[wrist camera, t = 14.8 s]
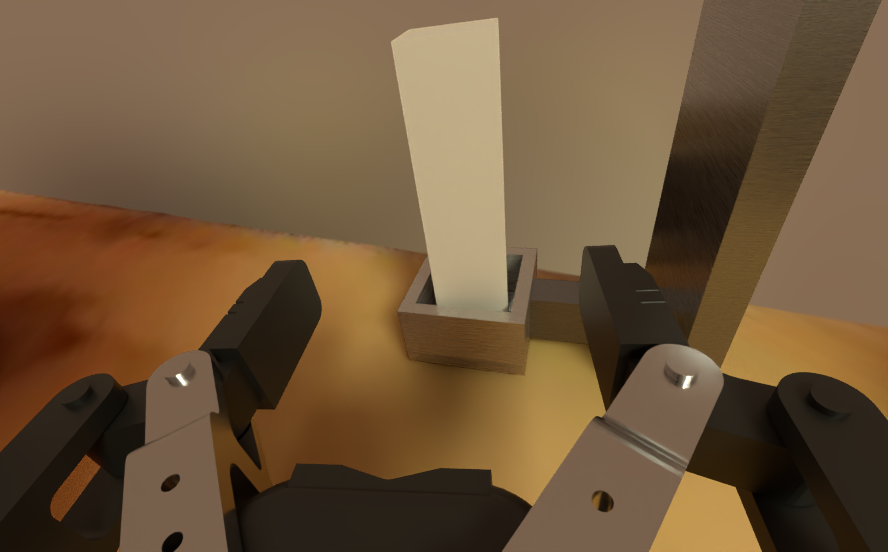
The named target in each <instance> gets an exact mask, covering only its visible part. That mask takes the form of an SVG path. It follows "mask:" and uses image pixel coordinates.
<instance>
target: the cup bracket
mask: <svg viewBox="0 0 888 552" xmlns="http://www.w3.org/2000/svg"><path fill="white" fill-rule="evenodd" d="M881 1H882V0H704V3H703V7H702V11H701V16H700V21H699V25H698V30H697V35H696V39H695V43H694V48H693V52H692V57H691V62H690V66H689V71H688V75H687V80H686V84H685V89H684V94H683V98H682V102H681V107H680V111H679V117H678V121H677V125H676V130H675V134H674V139H673V143H672V148H671V152H670V157H669V161H668V166H667V171H666V175H665V180H664V184H663V189H662V193H661V198H660V202H659V207H658V212H657V216H656V221H655V225H654V230H653V234H652V239H651V244H650V248H649V252H648V257H647V261H646V266H645V270H646V271H648V272H649V273H650V274H651V275H652V276H653V278H654V280H655V282H656V284H657V286H658V288H659V291H660V292H661V293H662V295H663V297H664V299H665V303H667V305H668V307H669V309H670V310H671V312H672V314H673V316H674V318H675V320H676V322H677V324H678V325H679V327H680V329H681V331H682V333H683V335H684V337H685V339H686V341H687V342H688V344H689V346H690V348H693V349H695V350H697V351H700V352H701V353H703V354H705V355H706V356H708V357H709V358H710V359H712V360H713V361H714V362H715V363H716V365H717V366H718V367H719V368H721V365H722V363H723V361H724V358H725V356H726V354H727V352H728V349H729V347H730V345H731V343H732V340H733V338H734V336H735V333H736V331H737V329H738V327H739V324H740V322H741V320H742V317H743V315H744V313H745V311H746V308H747V306H748V304H749V302H750V299H751V297H752V295H753V292H754V290H755V288H756V286H757V283H758V281H759V279H760V276H761V274H762V272H763V270H764V267H765V265H766V263H767V260H768V258H769V256H770V254H771V251H772V249H773V247H774V244H775V242H776V240H777V238H778V235H779V233H780V231H781V228H782V226H783V224H784V222H785V219H786V217H787V215H788V213H789V210H790V208H791V206H792V203H793V201H794V199H795V196H796V194H797V192H798V190H799V188H800V185H801V183H802V180H803V178H804V176H805V174H806V172H807V169H808V167H809V165H810V162H811V160H812V158H813V155H814V153H815V151H816V149H817V146H818V144H819V142H820V140H821V137H822V135H823V133H824V131H825V128H826V126H827V123H828V121H829V119H830V117H831V114H832V112H833V110H834V108H835V105H836V103H837V101H838V98H839V96H840V94H841V92H842V89H843V87H844V85H845V83H846V80H847V78H848V76H849V74H850V71H851V69H852V67H853V64H854V62H855V60H856V58H857V55H858V53H859V51H860V48H861V46H862V44H863V42H864V39H865V37H866V35H867V32H868V30H869V28H870V25H871V23H872V21H873V19H874V17H875V14H876V12H877V10H878V7H879V5H880V3H881ZM506 262H507V291H508V312H502V311H492V310H481V309H471V308H460V307H449V306H439V305H437V303H436V298H435V292H434V286H433V280H432V275H431V269H430V263H429V257H428V255H427V257H426V258H425V260H424V262H423V264H422V266H421V268H420V270H419V272H418V273H417V275H416V277H415V279H414V281H413V283H412V285H411V286H410V288H409V290H408V292H407V294H406V296H405V298H404V300H403V301H402V303H401V305H400V307H399V309H398V311H397V313H398V317H399V321H400V324H401V328H402V332H403V336H404V340H405V344H406V348H407V352H408V356H409V360H415V361H423V362H430V363H437V364H444V365H452V366H459V367H466V368H473V369H481V370H488V371H495V372H502V373H510V374H517V375H524V376H525V369H526V363H527V356H528V349H529V342H530V338H537V339H546V340H555V341H564V342H573V343H582V344H588V341H587V337H586V333H585V329H584V325H583V321H582V318H581V314H580V308H579V286H580V282H578V281H563V280H549V279H537V249H536V248H515V247H506Z"/></svg>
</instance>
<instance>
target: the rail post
mask: <svg viewBox="0 0 888 552" xmlns="http://www.w3.org/2000/svg"><path fill="white" fill-rule="evenodd" d="M391 45H392V50H393V56H394V62H395V68H396V74H397V79H398V85H399V90H400V97H401V102H402V108H403V114H404V119H405V125H406V131H407V137H408V143H409V148H410V154H411V160H412V165H413V171H414V177H415V183H416V189H417V194H418V200H419V205H420V211H421V217H422V223H423V228H424V234H425V239H426V246H427V252H428V257H429V263H430V269H431V275H432V280H433V286H434V292H435V298H436V303H437V305H439V306H449V307H460V308H471V309H481V310H492V311H502V312H508V291H507V262H506V235H505V204H504V176H503V175H504V174H503V147H502V116H501V88H500V56H499V29H498V18H492V19H484V20H476V21H469V22H461V23H454V24H446V25H439V26H431V27H424V28H417V29H409V30H408V31H406V32H405V33H403V34H402V35H400V36H399V37H397V38H396V39H394V40H393V41H391Z"/></svg>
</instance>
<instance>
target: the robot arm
mask: <svg viewBox="0 0 888 552" xmlns="http://www.w3.org/2000/svg"><path fill="white" fill-rule="evenodd" d="M579 308H580V314H581V318H582V321H583V325H584V329H585V333H586V337H587V341H588V345H589V348H590V352H591V356H592V360H593V364H594V368H595V371H596V375H597V379H598V383H599V387H600V391H601V395H602V398H603V402H604V406H605V410H606V413H605V415H604V416H603V417H602V418H600V417H599V416H596V417H595V418H593V420H592V421H591V422H590V423H589V424H588V426H587V427H586V429H585V430H584V431H583V433H582V434H581V436H580V437H579V439H578V440H577V442H576V443H575V445H574V446H573V448H572V449H571V451H570V452H569V454H568V455H567V457H566V458H565V459H564V461H563V462H562V464H561V465H560V467H559V468H558V470H557V471H556V473H555V474H554V476H553V477H552V479H551V480H550V482H549V483H548V484H547V486H546V487H545V489H544V490H543V492H542V493H541V495H540V496H539V498H538V499H537V501H536V502H535V504H534V505H533V506H531V505H530V504H529V503H528V502H526V501H525V500H523V499H522V498H520V497H518V496H517V495H515V494H513V493H511V492H509V491H507V490H505V489H502V488H499V487H496V486H493V485H492V475H491V470H481V469H450V468H439V469H435V470H430V471H426V472H422V473H417V474H413V475H409V476H404V477H400V478H395V479H390V480H387V479H382V478H379V477H376V476H373V475H370V474H367V473H364V472H361V471H358V470H355V469H352V468H349V467H346V466H343V465H326V464H296V466H295V469H294V471H293V474H292V476H291V479H290V480H288V481H285V482H282V483H279V484H276V485H274V486H273V484H272V482H271V479H270V476H269V472H268V468H267V464H266V460H265V456H264V452H263V448H262V444H261V440H260V437H259V433H258V429H257V425H256V422H255V421H254V419H253V418H252V417H253V415H254V413H255V412H256V410H257V409H275V408H276V406H277V404H278V402H279V400H280V398H281V396H282V394H283V392H284V390H285V388H286V386H287V384H288V382H289V380H290V378H291V376H292V374H293V372H294V370H295V368H296V366H297V364H298V362H299V360H300V358H301V356H302V354H303V352H304V350H305V348H306V346H307V344H308V342H309V340H310V338H311V336H312V334H313V332H314V330H315V328H316V326H317V324H318V322H319V320H320V317H321V311H322V306H321V300H320V297H319V295H318V292H317V290H316V287H315V285H314V282H313V280H312V277H311V275H310V272H309V270H308V267H307V265H306V263H305V262H304V261H303V260H285V261H275V262H274V263H273V264H272V265H271V267H270V268H269V269H268V271H267V272H266V273H265V275H264V276H263V277H262V278H260V279H258V280H257V281H256V282H254V283H253V284H252V285H250V286H249V287H248V288H246V289H245V290H244V292H243V293H242V294H241V296H240V297H239V298H238V299H237V301H236V304H233V306H232V307H231V308H230V310H229V311H228V315H225V316H224V317H223V319H222V320H221V321H220V322H219V324H218V325H217V326H216V328H215V329H214V330H213V331H212V333H211V334H210V335H209V337H208V338H207V339H206V340H205V342H204V343H203V344H202V346H201V347H200V348H199V349H198V350H193V351H188V352H184V353H182V354H179V355H177V356H175V357H173V358H171V359H169V360H167V361H166V362H165V363H163V364H162V365H161V366H160V367H158V368H157V369H156V370H155V371H154V373H153V374H152V375H151V376H150V378H149V380H145V381H142V382H138V383H134V384H130V385H126V386H121V385H120V384H119V383H118V382H117V381H116V380H115V379H114V378H113V377H112V376H111V375H109V374H95V375H91V376H88V377H85V378H83V379H80V380H78V381H76V382H74V383H73V384H71V385H69V386H68V387H66V388H65V389H63V390H62V391H61V392H59V393H58V394H57V395H56V396H55V397H54V398H53V399H52V400H51V401H50V402H49V403H48V404H47V405H46V406H45V407H44V408H43V409H42V410H41V411H40V412H39V413H38V414H37V415H36V416H35V417H34V418H33V419H32V420H31V421H30V422H29V423H28V424H27V425H26V426H25V427H24V428H23V429H22V430H21V431H20V432H19V434H18V435H17V436H16V437H15V438H14V439H13V440H12V441H11V442H10V443H9V444H8V445H7V446H6V447H5V448H4V449H3V450H2V451H1V452H0V552H116V551H117V550H118V548H119V546H120V549H119V552H649V550H650V548H651V546H652V543H653V541H654V539H655V537H656V535H657V532H658V530H659V528H660V526H661V524H662V521H663V519H664V517H665V515H666V512H667V510H668V508H669V506H670V504H671V501H672V499H673V497H674V495H675V493H676V490H677V488H678V486H679V484H680V481H681V479H682V477H683V475H684V473H685V471H687V472H690V473H694V474H697V475H700V476H703V477H706V478H709V479H712V480H715V481H718V482H722V483H725V484H728V485H731V486H734V487H736V489H737V492H738V494H739V496H740V499H741V501H742V504H743V506H744V509H745V511H746V514H747V516H748V518H749V521H750V523H751V526H752V528H753V531H754V533H755V536H756V538H757V540H758V543H759V545H760V548H761V550H762V552H888V420H887V419H886V418H885V416H884V415H883V414H882V413H881V411H880V410H879V409H878V408H877V407H876V405H875V404H874V403H873V402H872V401H871V400H870V399H869V398H867V397H866V396H865V395H864V394H862V393H861V392H860V391H858V390H857V389H855V388H853V387H852V386H850V385H848V384H846V383H844V382H842V381H840V380H837V379H834V378H832V377H829V376H825V375H822V374H816V373H809V372H798V373H792V374H789V375H787V376H785V377H784V378H782V379H781V381H780V382H779V384H778V385H777V387H775V386H770V385H766V384H762V383H757V382H753V381H748V380H744V379H740V378H736V377H732V376H729V375H727V374H724V373H722V372H721V370H720V368H719V367H718V366H717V365H716V363H715V362H714V361H713V360H712V359H710V358H709V357H708V356H706V355H705V354H703V353H701V352H700V351H697V350H695V349H693V348H690V346H689V344H688V342H687V341H686V339H685V337H684V335H683V333H682V331H681V329H680V327H679V325H678V324H677V322H676V320H675V318H674V316H673V314H672V312H671V310H670V309H669V307H668V305H667V303H665V299H664V297H663V295H662V293H661V292H660V291H659V288H658V286H657V284H656V282H655V280H654V278H653V276H652V275H651V274H650V273H649V272H648V271H646V270H645V269H644V268H642V267H641V266H640V265H639V264H637V263H623V261H622V259H621V257H620V255H619V252H618V250H617V248H616V247H615V245H605V246H585V247H584V250H583V256H582V266H581V276H580V286H579ZM85 454H86V455H87V456H88V457H90V458H91V459H92V460H93V461H94V462H96V463H97V464H98V465H99V466H101V468H100V469H99V470H98V472H97V473H96V474H95V476H94V477H93V478H92V480H91V481H90V482H89V484H88V485H87V487H86V488H85V489H84V491H83V492H82V493H81V495H80V496H79V497H78V499H77V500H76V501H75V503H74V504H73V506H72V507H71V508H70V510H69V511H68V512H67V514H66V515H65V516H64V518H63V519H62V520H61V522H59V521H58V520H56V519H55V518H53V516H52V515H51V512H50V504H51V501H52V498H53V496H54V494H55V493H56V491H57V490H58V489H59V487H60V486H61V485H62V484H63V482H64V481H65V480H66V479H67V477H68V476H69V475H70V474H71V472H72V471H73V470H74V468H75V467H76V466H77V465H78V463H79V462H80V461H81V460H82V458H83V457H84V456H85Z"/></svg>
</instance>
